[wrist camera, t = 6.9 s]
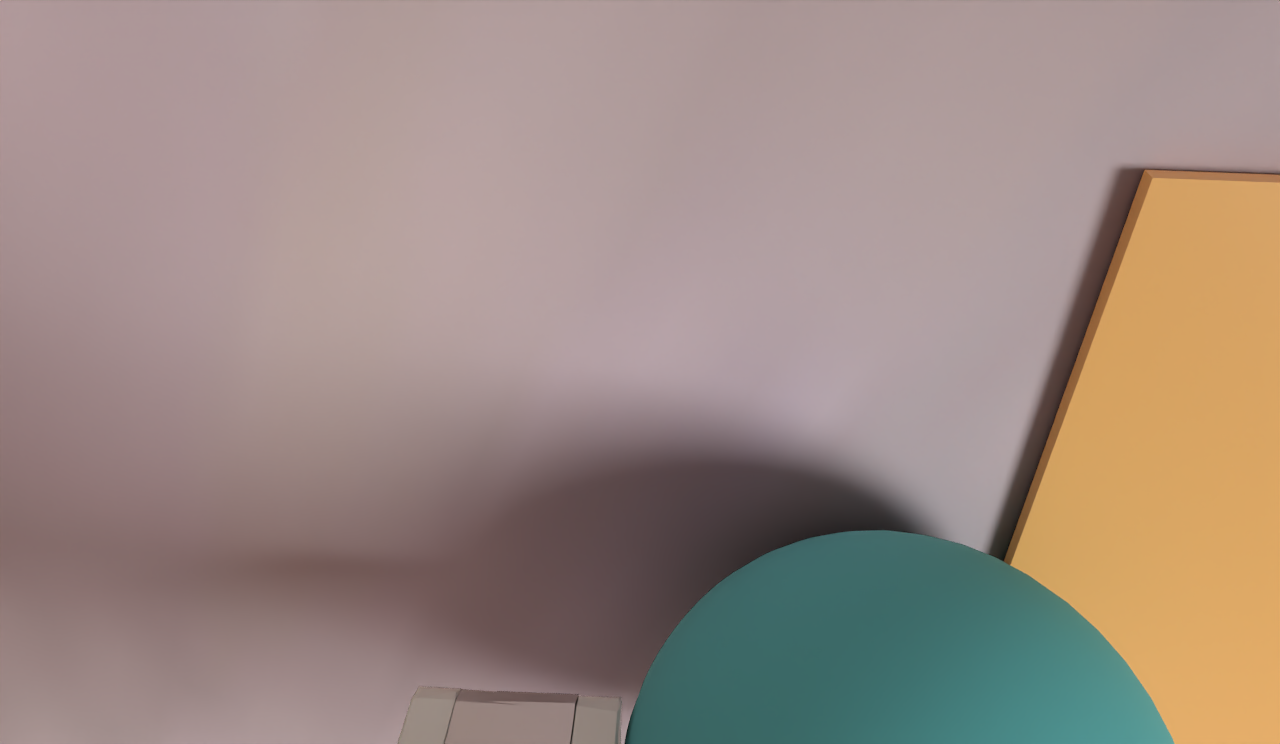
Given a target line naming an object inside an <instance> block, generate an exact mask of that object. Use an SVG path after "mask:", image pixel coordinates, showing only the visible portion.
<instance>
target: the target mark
mask: <svg viewBox="0 0 1280 744" xmlns="http://www.w3.org/2000/svg"><path fill="white" fill-rule="evenodd" d="M1004 562H1005V563H1007V564H1009V565H1011V566H1012V567H1014V568H1016V569H1018V570H1020V571H1022V572H1023V573H1025V574H1027V575H1029V576H1030V577H1032V578H1033V579H1035V580H1036V581H1038V582H1039V583H1040V584H1042V585H1043V586H1045V587H1046V588H1048V589H1049V590H1050V591H1052V592H1053V593H1055V594H1056V595H1057V596H1059V597H1060V598H1062V599H1063V600H1065V601H1066V602H1067V603H1069V604H1070V605H1071V606H1072V607H1073V608H1074V609H1075V610H1076V611H1077V612H1079V613H1080V614H1081V615H1082V616H1083V617H1084V618H1085V619H1086V620H1087V621H1089V622H1090V623H1091V624H1092V625H1093V626H1094V627H1095V628H1096V629H1097V630H1098V631H1099V632H1100V633H1101V634H1102V635H1103V636H1104V637H1105V638H1106V640H1107V641H1108V642H1109V643H1110V644H1111V645H1112V646H1113V648H1114V649H1115V650H1116V651H1117V652H1118V653H1119V654H1120V655H1121V657H1122V658H1123V659H1124V660H1125V661H1126V662H1127V664H1128V665H1129V667H1130V668H1131V670H1132V671H1133V673H1134V674H1135V675H1136V677H1137V678H1138V680H1139V681H1140V683H1141V684H1142V686H1143V687H1144V688H1145V690H1146V691H1147V693H1148V694H1149V696H1150V697H1151V699H1152V701H1153V702H1154V704H1155V706H1156V708H1157V710H1158V712H1159V714H1160V716H1161V717H1162V719H1163V721H1164V723H1165V725H1166V727H1167V729H1168V731H1169V733H1170V734H1171V736H1172V738H1173V741H1174V743H1175V744H1280V175H1272V174H1246V173H1219V172H1193V171H1166V170H1144V172H1143V175H1142V178H1141V181H1140V184H1139V186H1138V189H1137V192H1136V195H1135V197H1134V200H1133V203H1132V206H1131V209H1130V211H1129V214H1128V217H1127V220H1126V222H1125V225H1124V228H1123V231H1122V234H1121V236H1120V239H1119V242H1118V245H1117V248H1116V250H1115V253H1114V256H1113V259H1112V261H1111V264H1110V267H1109V270H1108V273H1107V275H1106V278H1105V281H1104V284H1103V286H1102V289H1101V292H1100V295H1099V298H1098V300H1097V303H1096V306H1095V309H1094V311H1093V314H1092V317H1091V320H1090V323H1089V325H1088V328H1087V331H1086V334H1085V337H1084V339H1083V342H1082V345H1081V348H1080V350H1079V353H1078V356H1077V359H1076V362H1075V364H1074V367H1073V370H1072V373H1071V375H1070V378H1069V381H1068V384H1067V387H1066V389H1065V392H1064V395H1063V398H1062V400H1061V403H1060V406H1059V409H1058V412H1057V414H1056V417H1055V420H1054V423H1053V426H1052V428H1051V431H1050V434H1049V437H1048V439H1047V442H1046V445H1045V448H1044V451H1043V453H1042V456H1041V459H1040V462H1039V464H1038V467H1037V470H1036V473H1035V476H1034V478H1033V481H1032V484H1031V487H1030V489H1029V492H1028V495H1027V498H1026V501H1025V503H1024V506H1023V509H1022V512H1021V515H1020V517H1019V520H1018V523H1017V526H1016V528H1015V531H1014V534H1013V537H1012V540H1011V542H1010V545H1009V548H1008V551H1007V553H1006V556H1005V559H1004Z"/></svg>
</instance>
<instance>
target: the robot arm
mask: <svg viewBox="0 0 1280 744" xmlns="http://www.w3.org/2000/svg"><path fill="white" fill-rule="evenodd" d="M621 712H622V701H621V697H600V696H579V695H578V694H560V693H535V692H510V691H497V692H496V691H481V690H467V689H461V688H442V687H423V686H419V688H418V689H417V691H416V693H415V694H414V696H413V698H412V699H411V702H410V705H409V708H408V712H407V715H406V718H405V721H404V724H403V728H402V731H401V734H400V737H399V740H398V744H621Z"/></svg>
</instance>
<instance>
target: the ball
mask: <svg viewBox="0 0 1280 744" xmlns="http://www.w3.org/2000/svg"><path fill="white" fill-rule="evenodd" d="M625 744H1175V743H1174V741H1173V738H1172V736H1171V734H1170V733H1169V731H1168V729H1167V727H1166V725H1165V723H1164V721H1163V719H1162V717H1161V716H1160V714H1159V712H1158V710H1157V708H1156V706H1155V704H1154V702H1153V701H1152V699H1151V697H1150V696H1149V694H1148V693H1147V691H1146V690H1145V688H1144V687H1143V686H1142V684H1141V683H1140V681H1139V680H1138V678H1137V677H1136V675H1135V674H1134V673H1133V671H1132V670H1131V668H1130V667H1129V665H1128V664H1127V662H1126V661H1125V660H1124V659H1123V658H1122V657H1121V655H1120V654H1119V653H1118V652H1117V651H1116V650H1115V649H1114V648H1113V646H1112V645H1111V644H1110V643H1109V642H1108V641H1107V640H1106V638H1105V637H1104V636H1103V635H1102V634H1101V633H1100V632H1099V631H1098V630H1097V629H1096V628H1095V627H1094V626H1093V625H1092V624H1091V623H1090V622H1089V621H1087V620H1086V619H1085V618H1084V617H1083V616H1082V615H1081V614H1080V613H1079V612H1077V611H1076V610H1075V609H1074V608H1073V607H1072V606H1071V605H1070V604H1069V603H1067V602H1066V601H1065V600H1063V599H1062V598H1060V597H1059V596H1057V595H1056V594H1055V593H1053V592H1052V591H1050V590H1049V589H1048V588H1046V587H1045V586H1043V585H1042V584H1040V583H1039V582H1038V581H1036V580H1035V579H1033V578H1032V577H1030V576H1029V575H1027V574H1025V573H1023V572H1022V571H1020V570H1018V569H1016V568H1014V567H1012V566H1011V565H1009V564H1007V563H1005V562H1003V561H1001V560H999V559H998V558H996V557H993V556H991V555H988V554H986V553H983V552H980V551H978V550H975V549H973V548H970V547H968V546H965V545H963V544H959V543H955V542H951V541H947V540H943V539H939V538H935V537H931V536H927V535H921V534H914V533H905V532H897V531H888V530H870V531H848V532H839V533H834V534H828V535H822V536H817V537H812V538H808V539H805V540H801V541H798V542H795V543H793V544H790V545H787V546H784V547H781V548H778V549H776V550H773V551H771V552H769V553H767V554H764V555H762V556H761V557H759V558H757V559H755V560H754V561H752V562H750V563H749V564H747V565H745V566H743V567H742V568H740V569H738V570H737V571H735V572H733V573H732V574H730V575H729V576H728V577H726V578H725V579H723V580H722V581H721V582H720V583H718V584H717V585H716V586H715V587H713V588H712V589H711V590H710V591H709V592H708V593H707V594H706V595H705V596H704V597H702V598H701V599H700V600H699V601H698V602H697V603H696V604H695V606H694V607H693V608H692V609H691V610H690V611H689V612H688V613H687V614H686V615H685V617H684V618H683V619H682V620H681V621H680V623H679V624H678V625H677V626H676V628H675V629H674V630H673V632H672V633H671V635H670V636H669V637H668V639H667V640H666V642H665V643H664V645H663V646H662V648H661V649H660V651H659V653H658V654H657V656H656V658H655V660H654V661H653V663H652V665H651V667H650V669H649V671H648V673H647V675H646V678H645V680H644V682H643V685H642V687H641V690H640V693H639V695H638V698H637V701H636V704H635V706H634V709H633V712H632V715H631V717H630V721H629V725H628V729H627V733H626V739H625Z"/></svg>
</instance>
